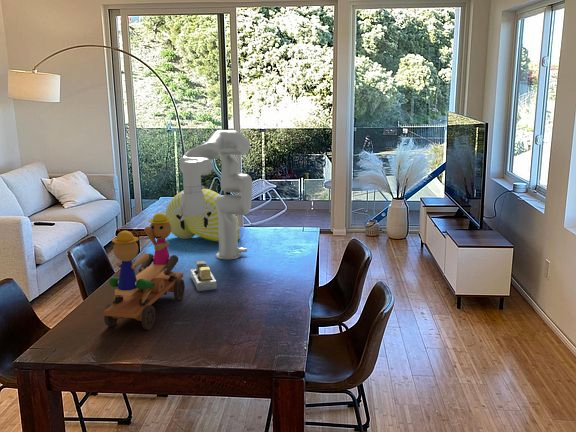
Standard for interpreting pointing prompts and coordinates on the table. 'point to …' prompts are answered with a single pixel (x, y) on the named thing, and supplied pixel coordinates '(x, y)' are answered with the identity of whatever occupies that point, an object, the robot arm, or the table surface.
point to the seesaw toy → (143, 275)
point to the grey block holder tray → (203, 282)
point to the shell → (196, 219)
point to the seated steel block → (198, 265)
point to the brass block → (205, 273)
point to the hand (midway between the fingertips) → (194, 227)
